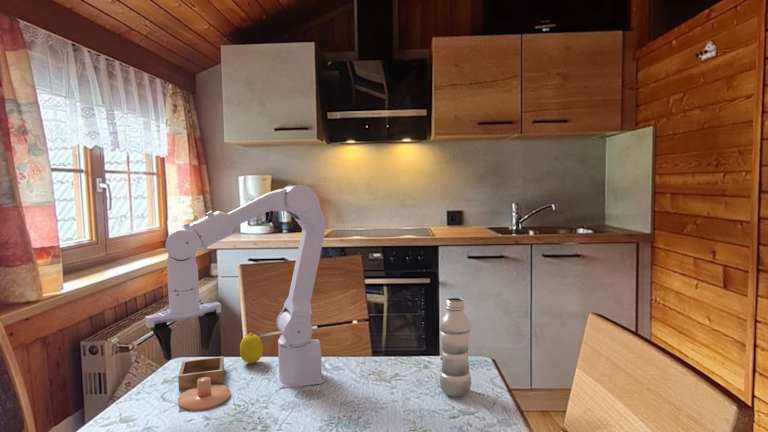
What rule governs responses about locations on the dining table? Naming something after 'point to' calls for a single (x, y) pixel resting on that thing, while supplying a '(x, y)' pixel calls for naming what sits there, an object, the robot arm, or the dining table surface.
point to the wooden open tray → (201, 372)
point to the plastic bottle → (455, 349)
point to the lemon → (251, 348)
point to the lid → (204, 395)
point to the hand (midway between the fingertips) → (186, 353)
